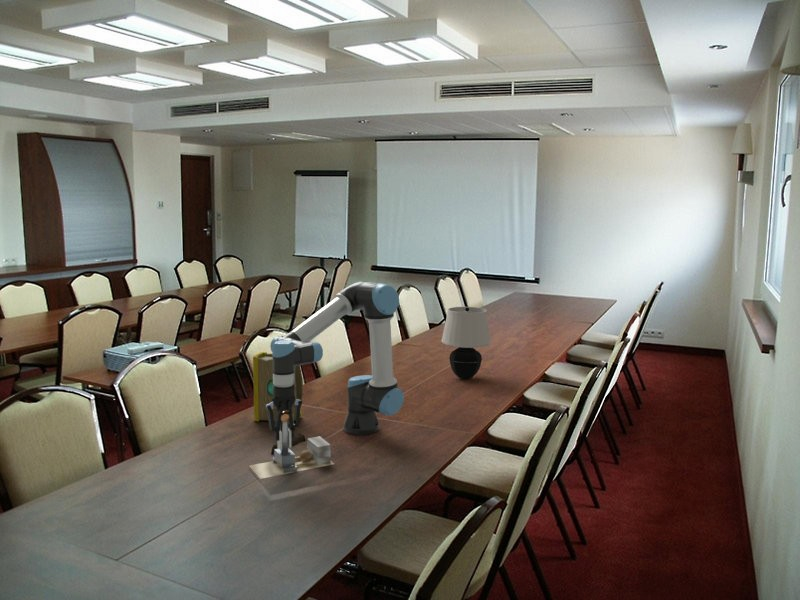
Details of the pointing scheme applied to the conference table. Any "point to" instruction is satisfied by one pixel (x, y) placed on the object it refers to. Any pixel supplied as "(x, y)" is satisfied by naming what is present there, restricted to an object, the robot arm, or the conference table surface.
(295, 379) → the decorative book
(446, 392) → the conference table surface
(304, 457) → the brown ball
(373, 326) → the robot arm
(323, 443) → the knob lever base plate
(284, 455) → the ball-top joystick
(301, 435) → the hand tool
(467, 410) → the conference table surface
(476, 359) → the table lamp
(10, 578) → the conference table surface
